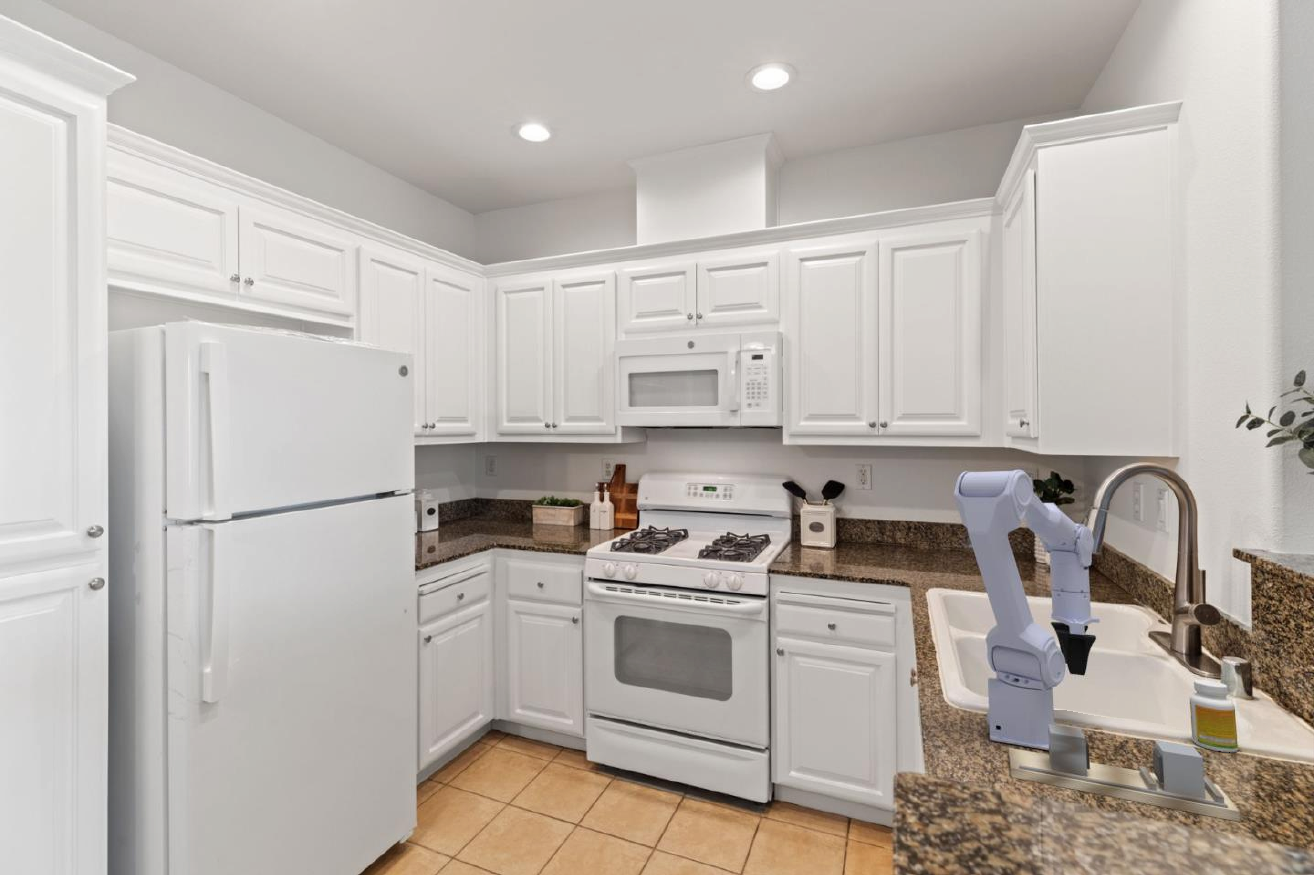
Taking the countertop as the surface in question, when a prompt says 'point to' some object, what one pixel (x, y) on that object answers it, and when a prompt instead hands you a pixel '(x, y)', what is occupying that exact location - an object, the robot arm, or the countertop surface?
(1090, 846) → the countertop surface
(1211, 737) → the supplement bottle
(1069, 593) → the robot arm
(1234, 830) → the countertop surface
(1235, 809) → the rail
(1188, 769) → the finger part
